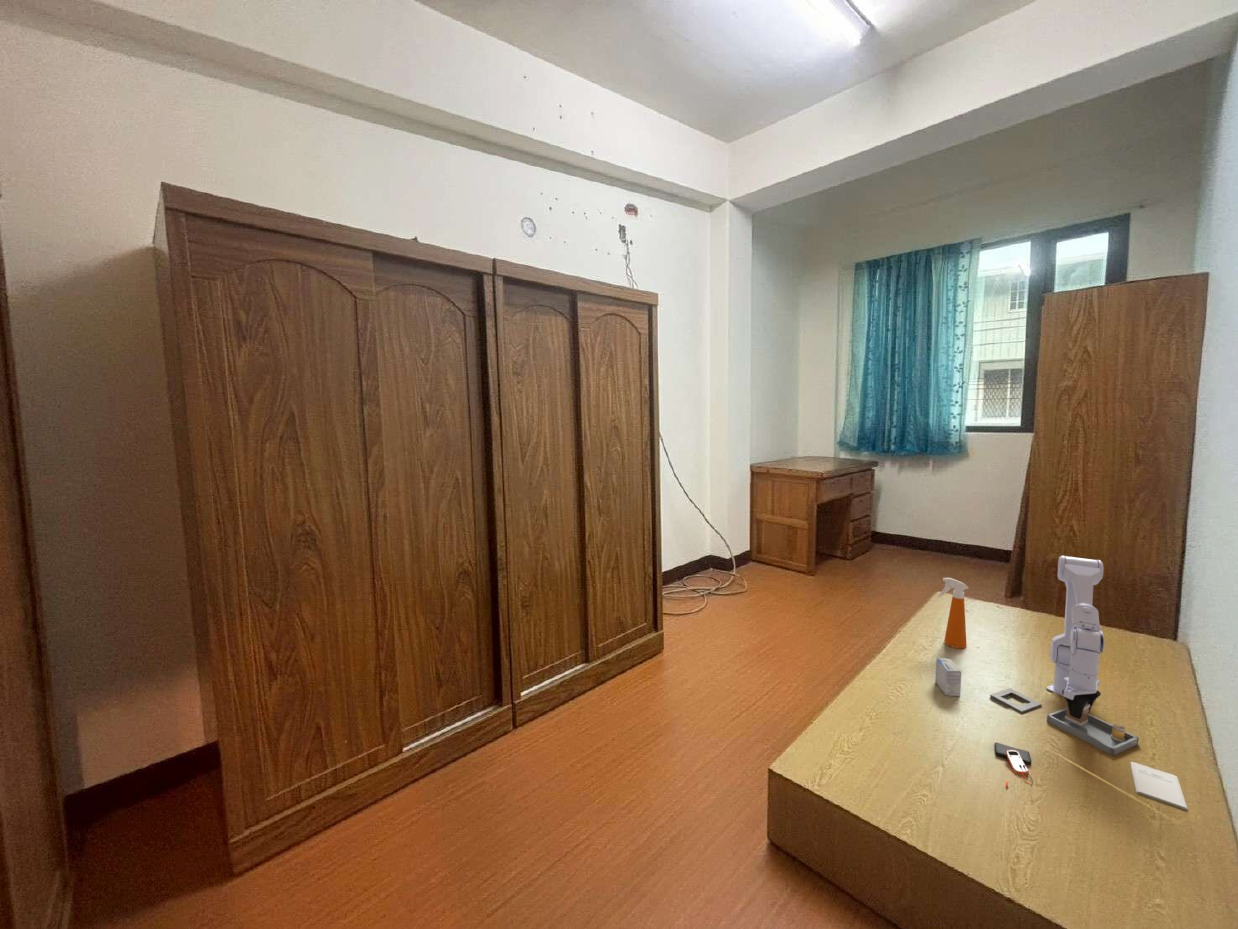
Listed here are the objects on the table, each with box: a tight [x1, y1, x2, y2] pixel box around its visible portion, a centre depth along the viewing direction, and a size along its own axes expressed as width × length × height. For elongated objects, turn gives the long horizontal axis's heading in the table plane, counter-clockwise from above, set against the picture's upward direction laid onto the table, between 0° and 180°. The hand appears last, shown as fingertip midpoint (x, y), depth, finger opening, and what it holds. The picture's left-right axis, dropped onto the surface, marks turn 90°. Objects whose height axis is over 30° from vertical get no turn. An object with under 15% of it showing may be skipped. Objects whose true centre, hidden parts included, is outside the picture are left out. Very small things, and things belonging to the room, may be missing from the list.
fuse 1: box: [1065, 703, 1090, 726], centre depth 143 cm, size 4×4×6 cm
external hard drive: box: [1130, 761, 1188, 811], centre depth 121 cm, size 2×8×12 cm
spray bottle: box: [936, 576, 970, 649], centre depth 189 cm, size 7×11×26 cm, turn 82°
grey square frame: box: [989, 687, 1043, 714], centre depth 154 cm, size 9×9×1 cm
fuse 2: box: [1111, 722, 1127, 743], centre depth 137 cm, size 3×3×4 cm
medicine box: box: [934, 657, 962, 697], centre depth 162 cm, size 8×4×9 cm, turn 168°
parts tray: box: [1046, 707, 1139, 757], centre depth 140 cm, size 11×15×2 cm
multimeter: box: [993, 741, 1034, 789], centre depth 127 cm, size 18×12×3 cm, turn 142°
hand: (1079, 714), depth 142 cm, fingers closed on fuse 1, 4 cm apart
